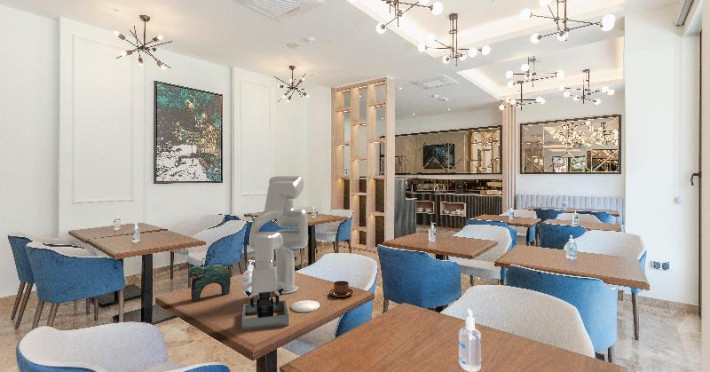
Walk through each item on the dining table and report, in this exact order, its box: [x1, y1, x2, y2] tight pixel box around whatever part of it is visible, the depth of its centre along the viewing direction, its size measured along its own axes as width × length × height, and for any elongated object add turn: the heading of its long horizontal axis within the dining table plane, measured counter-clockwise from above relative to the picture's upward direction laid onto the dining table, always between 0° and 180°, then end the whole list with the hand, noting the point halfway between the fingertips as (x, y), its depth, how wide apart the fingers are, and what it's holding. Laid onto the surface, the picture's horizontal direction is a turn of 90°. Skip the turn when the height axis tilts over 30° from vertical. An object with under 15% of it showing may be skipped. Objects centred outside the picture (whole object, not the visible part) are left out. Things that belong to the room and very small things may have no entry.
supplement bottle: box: [256, 292, 275, 318], centre depth 151 cm, size 7×7×12 cm
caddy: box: [241, 299, 290, 331], centre depth 151 cm, size 18×18×4 cm
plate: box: [290, 299, 321, 314], centre depth 164 cm, size 13×13×1 cm
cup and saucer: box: [329, 280, 354, 298], centre depth 181 cm, size 12×12×6 cm
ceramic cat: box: [187, 257, 231, 302], centre depth 179 cm, size 20×6×20 cm, turn 129°
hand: (264, 305), depth 150 cm, fingers open, 9 cm apart
